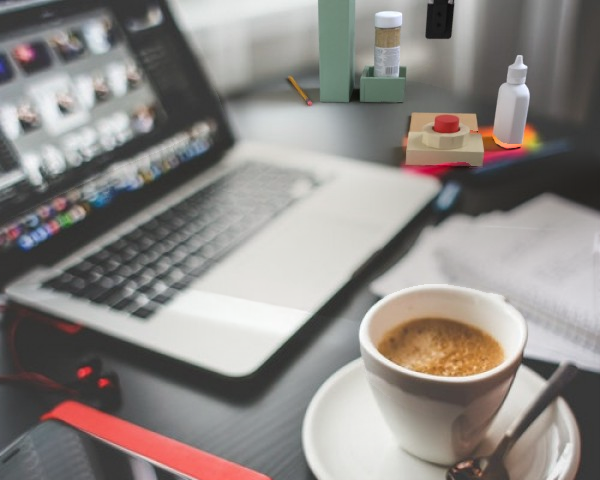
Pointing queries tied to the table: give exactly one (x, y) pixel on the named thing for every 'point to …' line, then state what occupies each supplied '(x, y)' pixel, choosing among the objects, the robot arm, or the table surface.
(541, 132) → the table surface
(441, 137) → the button box
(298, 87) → the pencil
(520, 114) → the eye dropper bottle
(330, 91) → the dock machine
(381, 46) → the sprinkles bottle
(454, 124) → the button
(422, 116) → the cork mat
